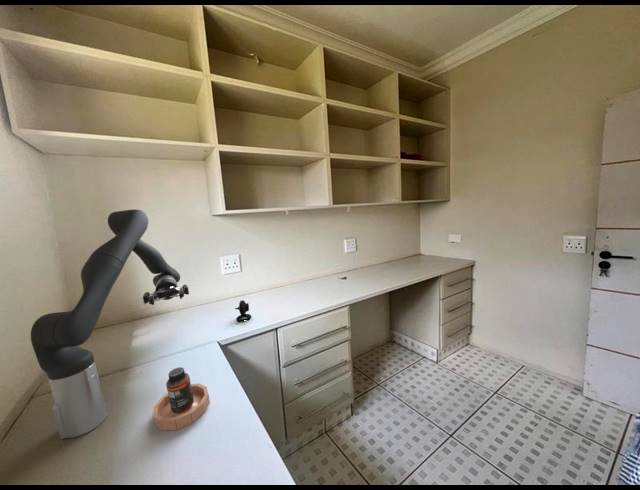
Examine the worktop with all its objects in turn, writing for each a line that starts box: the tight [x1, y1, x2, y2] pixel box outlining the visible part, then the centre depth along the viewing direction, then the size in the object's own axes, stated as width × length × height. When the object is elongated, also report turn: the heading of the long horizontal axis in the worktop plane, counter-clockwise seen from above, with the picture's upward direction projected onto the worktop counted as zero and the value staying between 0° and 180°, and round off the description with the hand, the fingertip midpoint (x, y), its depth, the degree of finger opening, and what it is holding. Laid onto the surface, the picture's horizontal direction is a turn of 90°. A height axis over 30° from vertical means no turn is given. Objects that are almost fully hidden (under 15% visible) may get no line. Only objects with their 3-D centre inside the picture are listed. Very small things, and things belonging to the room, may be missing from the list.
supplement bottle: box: [166, 366, 194, 413], centre depth 74 cm, size 6×6×11 cm
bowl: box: [152, 382, 211, 432], centre depth 75 cm, size 14×14×3 cm
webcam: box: [235, 299, 252, 322], centre depth 133 cm, size 8×8×10 cm
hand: (166, 299), depth 89 cm, fingers open, 8 cm apart
